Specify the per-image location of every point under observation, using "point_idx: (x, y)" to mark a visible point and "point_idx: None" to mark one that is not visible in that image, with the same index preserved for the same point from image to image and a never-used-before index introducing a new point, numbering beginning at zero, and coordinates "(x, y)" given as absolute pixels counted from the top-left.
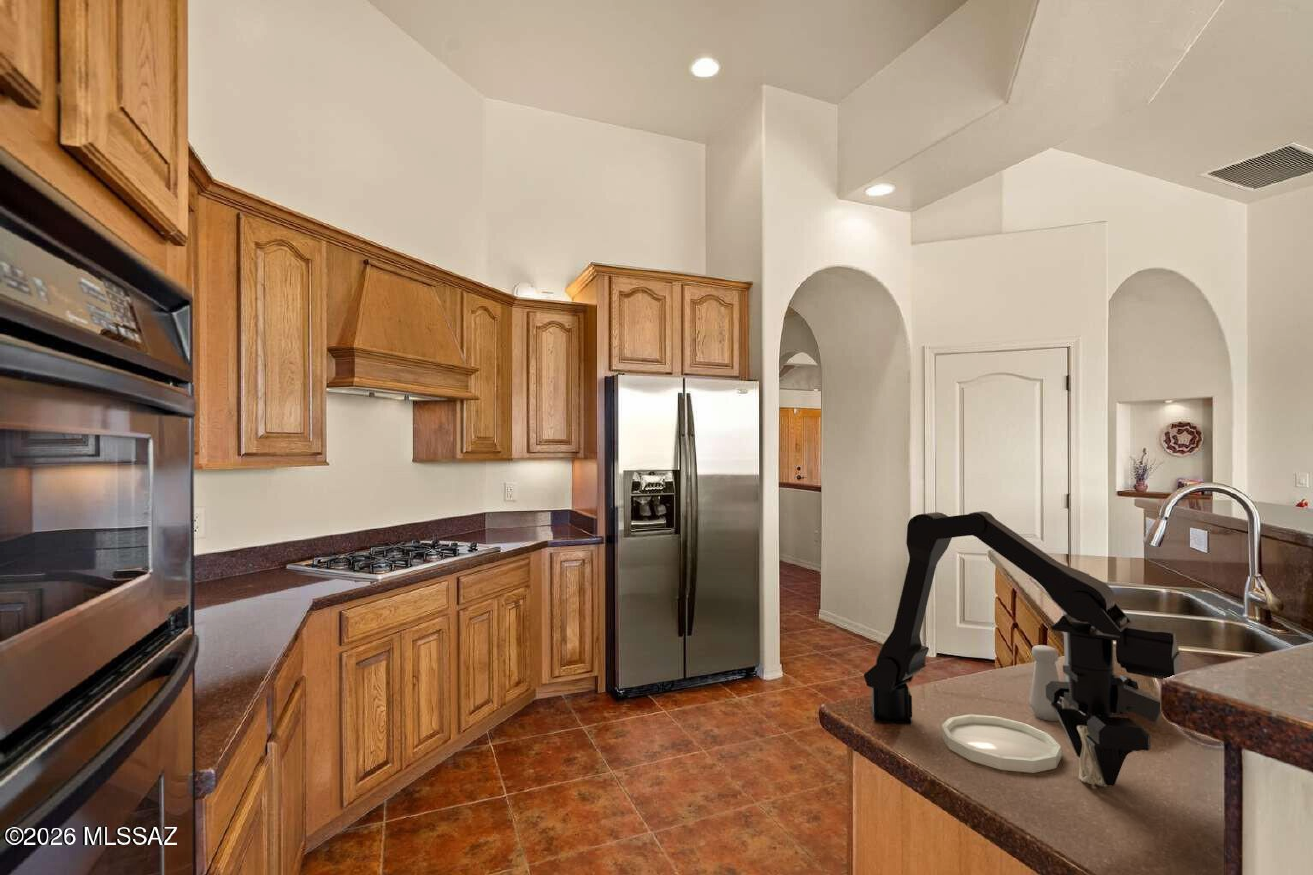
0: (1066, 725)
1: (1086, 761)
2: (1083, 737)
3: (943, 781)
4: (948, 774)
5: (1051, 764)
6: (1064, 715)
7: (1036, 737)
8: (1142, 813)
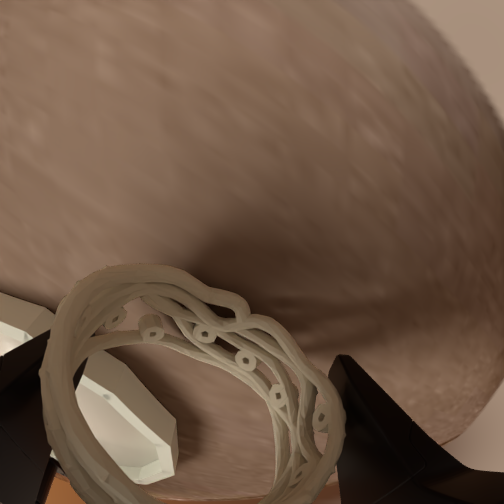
0: (44, 459)
1: (289, 458)
2: None
3: (241, 497)
4: (216, 492)
5: (133, 388)
6: (27, 494)
7: None
8: (423, 285)
